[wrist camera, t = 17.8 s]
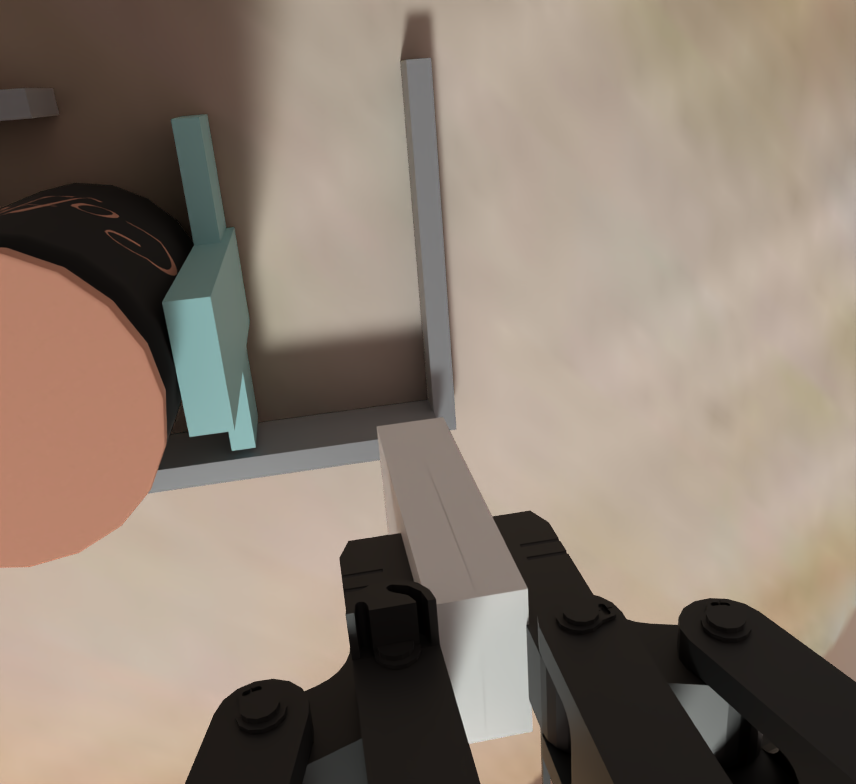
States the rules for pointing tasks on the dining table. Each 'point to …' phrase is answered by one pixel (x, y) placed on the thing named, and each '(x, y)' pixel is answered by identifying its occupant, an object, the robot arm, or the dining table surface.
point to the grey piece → (339, 431)
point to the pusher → (209, 303)
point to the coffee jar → (82, 364)
